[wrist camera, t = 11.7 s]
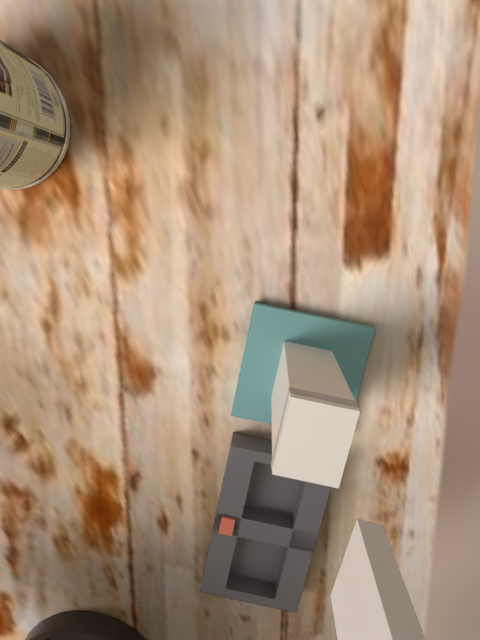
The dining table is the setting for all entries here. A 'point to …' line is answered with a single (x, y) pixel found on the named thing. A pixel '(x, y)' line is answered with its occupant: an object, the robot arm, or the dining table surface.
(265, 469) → the power strip
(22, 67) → the coffee can
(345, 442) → the block
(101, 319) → the dining table surface
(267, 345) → the pad
